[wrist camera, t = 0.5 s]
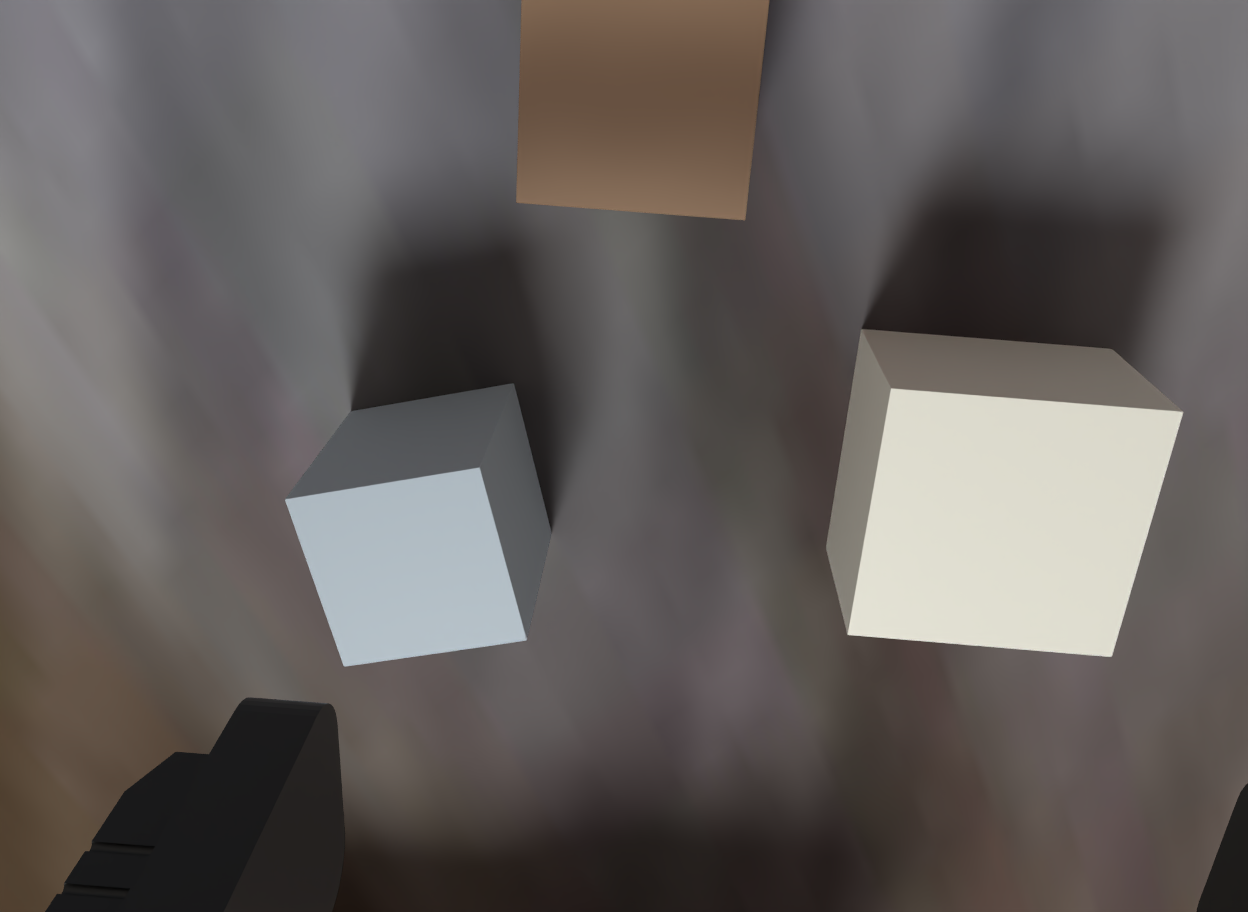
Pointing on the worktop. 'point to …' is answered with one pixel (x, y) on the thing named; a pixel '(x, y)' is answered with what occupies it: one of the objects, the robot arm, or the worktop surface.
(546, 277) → the worktop surface
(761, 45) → the walnut block
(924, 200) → the worktop surface
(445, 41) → the worktop surface
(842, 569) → the base block
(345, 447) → the slate-grey block
